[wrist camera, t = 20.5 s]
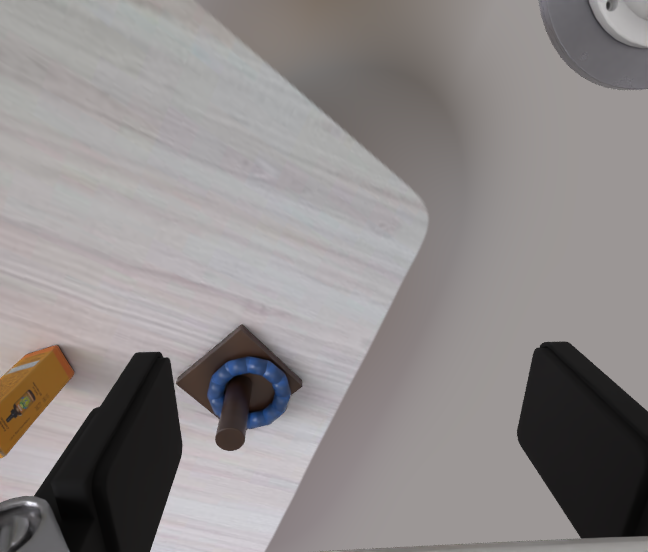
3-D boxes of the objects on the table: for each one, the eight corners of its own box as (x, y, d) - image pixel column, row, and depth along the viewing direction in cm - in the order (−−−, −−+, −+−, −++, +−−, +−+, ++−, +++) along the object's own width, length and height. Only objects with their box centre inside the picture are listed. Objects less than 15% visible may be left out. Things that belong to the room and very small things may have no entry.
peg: (241, 324, 38) (230, 375, 31) (302, 380, 41) (304, 440, 33) (178, 377, 40) (152, 439, 32) (240, 428, 42) (229, 496, 35)
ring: (277, 345, 38) (277, 353, 37) (298, 410, 41) (298, 420, 39) (198, 365, 38) (195, 374, 37) (224, 428, 41) (222, 439, 40)
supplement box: (21, 353, 38) (-67, 433, 28) (59, 342, 38) (-18, 419, 28) (41, 384, 39) (-38, 470, 30) (77, 374, 39) (10, 457, 29)
